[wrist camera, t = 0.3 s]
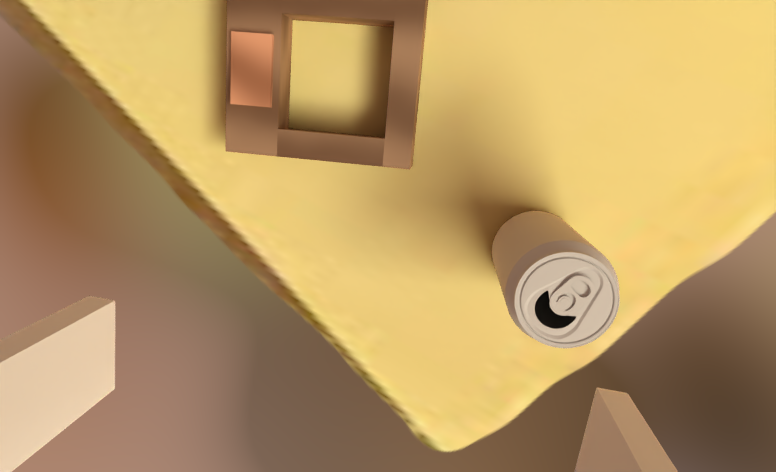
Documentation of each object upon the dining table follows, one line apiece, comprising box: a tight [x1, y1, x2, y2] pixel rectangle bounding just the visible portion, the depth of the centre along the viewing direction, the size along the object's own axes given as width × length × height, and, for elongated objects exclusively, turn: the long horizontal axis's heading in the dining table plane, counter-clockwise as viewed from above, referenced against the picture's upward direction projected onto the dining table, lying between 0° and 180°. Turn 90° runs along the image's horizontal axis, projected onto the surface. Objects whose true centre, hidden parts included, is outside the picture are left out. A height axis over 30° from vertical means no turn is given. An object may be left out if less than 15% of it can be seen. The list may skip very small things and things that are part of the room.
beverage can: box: [492, 211, 619, 348], centre depth 34 cm, size 6×6×12 cm
